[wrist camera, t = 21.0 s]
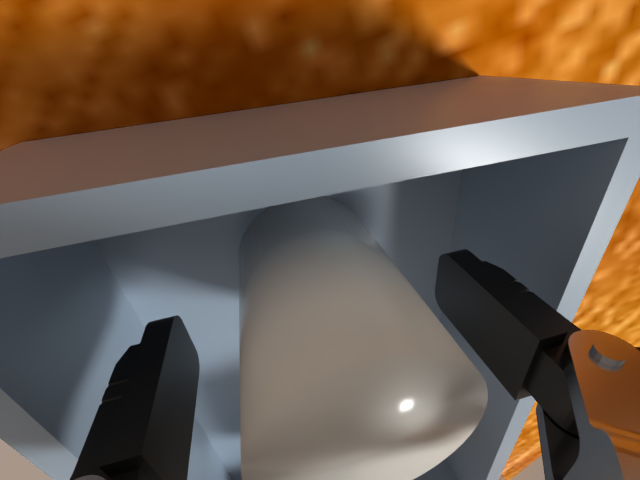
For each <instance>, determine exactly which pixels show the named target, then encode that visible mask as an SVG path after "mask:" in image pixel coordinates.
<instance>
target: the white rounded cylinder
mask: <svg viewBox="0 0 640 480" xmlns="http://www.w3.org/2000/svg"><path fill="white" fill-rule="evenodd" d="M238 265H239V355H240V446H241V477H242V480H413V479H415V478H417V477H419V476H421V475H422V474H424V473H426V472H427V471H429V470H430V469H432V468H433V467H435V466H436V465H438V464H439V463H440V462H442V461H443V460H445V459H446V458H447V457H448V456H449V455H451V454H452V453H453V452H454V451H455V450H456V449H457V448H458V447H460V446H461V445H462V444H463V443H464V442H465V440H466V439H467V438H468V437H469V436H470V435H471V434H472V432H473V431H474V429H475V428H476V427H477V425H478V424H479V422H480V420H481V418H482V416H483V414H484V411H485V409H486V405H487V401H488V389H487V385H486V382H485V380H484V378H483V377H482V375H481V374H480V372H479V371H478V370H477V368H476V367H475V366H474V365H473V363H472V362H471V361H470V360H469V358H468V357H467V356H466V354H465V353H464V352H463V351H462V349H461V348H460V347H459V345H458V344H457V343H456V342H455V340H454V339H453V338H452V336H451V335H450V334H449V333H448V331H447V330H446V329H445V328H444V326H443V325H442V324H441V322H440V321H439V320H438V319H437V317H436V316H435V315H434V313H433V312H432V311H431V310H430V308H429V307H428V306H427V305H426V303H425V302H424V301H423V299H422V298H421V297H420V296H419V294H418V293H417V292H416V290H415V289H414V288H413V287H412V285H411V284H410V283H409V281H408V280H407V279H406V278H405V276H404V275H403V274H402V273H401V271H400V270H399V269H398V267H397V266H396V265H395V264H394V262H393V261H392V260H391V258H390V257H389V256H388V255H387V253H386V252H385V251H384V250H383V248H382V247H381V246H380V244H379V243H378V242H377V241H376V239H375V238H374V237H373V235H372V234H371V233H370V232H369V230H368V229H367V228H366V227H365V225H364V224H363V223H362V221H361V220H360V219H359V218H358V216H357V215H356V214H355V213H354V212H353V211H352V210H351V209H350V208H349V207H348V206H347V205H345V204H343V203H342V202H340V201H338V200H336V199H333V198H331V197H327V196H321V197H316V198H311V199H306V200H300V201H295V202H290V203H285V204H280V205H274V206H269V207H267V208H266V209H264V210H263V211H261V212H260V213H259V214H258V215H257V216H256V217H255V218H254V219H253V220H252V222H251V223H250V224H249V225H248V227H247V229H246V230H245V232H244V234H243V237H242V239H241V242H240V246H239V254H238Z"/></svg>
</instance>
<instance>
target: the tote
mask: <svg viewBox="0 0 640 480" xmlns="http://www.w3.org/2000/svg"><path fill="white" fill-rule="evenodd" d="M639 177H640V86H631V85H616V84H601V83H586V82H571V81H556V80H541V79H526V78H511V77H496V76H474V77H467V78H460V79H453V80H446V81H439V82H433V83H426V84H419V85H412V86H405V87H398V88H391V89H384V90H377V91H370V92H364V93H357V94H350V95H343V96H336V97H329V98H322V99H315V100H308V101H302V102H295V103H288V104H281V105H274V106H267V107H260V108H253V109H246V110H240V111H233V112H226V113H219V114H212V115H205V116H198V117H191V118H184V119H178V120H171V121H164V122H157V123H150V124H143V125H136V126H129V127H122V128H115V129H109V130H102V131H95V132H88V133H81V134H74V135H67V136H60V137H53V138H47V139H40V140H33V141H26V142H21V143H19V144H16V145H13V146H11V147H8V148H6V149H3V150H0V438H1V439H2V440H3V441H5V442H6V443H7V444H8V445H10V446H11V447H12V448H13V449H15V450H16V451H17V452H19V453H20V454H21V455H22V456H24V457H25V458H26V459H27V460H29V461H30V462H31V463H33V464H34V465H35V466H37V467H38V468H39V469H40V470H42V471H43V472H44V473H45V474H47V475H48V476H49V477H51V478H52V479H53V480H70V478H71V476H72V474H73V471H74V469H75V466H76V464H77V461H78V459H79V456H80V453H81V451H82V448H83V446H84V443H85V441H86V438H87V436H88V433H89V431H90V428H91V425H92V423H93V420H94V418H95V415H96V413H97V410H98V408H99V405H100V404H102V398H103V395H104V392H105V390H106V388H107V387H108V382H109V380H110V377H111V375H112V372H113V370H114V367H115V364H116V363H117V362H118V361H119V359H120V358H121V357H122V356H123V354H124V353H125V352H126V351H127V349H128V348H129V347H130V346H132V345H136V344H140V342H141V339H142V336H143V333H144V330H145V327H146V325H147V323H148V322H151V321H155V320H159V319H163V318H168V317H172V316H176V315H178V316H180V318H181V319H182V321H183V323H184V325H185V327H186V329H187V331H188V333H189V336H190V338H191V340H192V342H193V344H194V346H195V348H196V350H197V353H198V357H199V365H200V371H199V381H198V389H197V398H196V407H195V415H194V424H193V432H192V441H191V450H190V458H189V467H188V476H187V480H242V477H241V446H240V355H239V265H238V254H239V246H240V242H241V239H242V237H243V234H244V232H245V230H246V229H247V227H248V225H249V224H250V223H251V222H252V220H253V219H254V218H255V217H256V216H257V215H258V214H259V213H260V212H261V211H263V210H264V209H266V208H267V207H269V206H274V205H280V204H285V203H290V202H295V201H300V200H306V199H311V198H316V197H321V196H327V197H331V198H333V199H336V200H338V201H340V202H342V203H343V204H345V205H347V206H348V207H349V208H350V209H351V210H352V211H353V212H354V213H355V214H356V215H357V216H358V218H359V219H360V220H361V221H362V223H363V224H364V225H365V227H366V228H367V229H368V230H369V232H370V233H371V234H372V235H373V237H374V238H375V239H376V241H377V242H378V243H379V244H380V246H381V247H382V248H383V250H384V251H385V252H386V253H387V255H388V256H389V257H390V258H391V260H392V261H393V262H394V264H395V265H396V266H397V267H398V269H399V270H400V271H401V273H402V274H403V275H404V276H405V278H406V279H407V280H408V281H409V283H410V284H411V285H412V287H413V288H414V289H415V290H416V292H417V293H418V294H419V296H420V297H421V298H422V299H423V301H424V302H425V303H426V305H427V306H428V307H429V308H430V310H431V311H432V312H433V313H434V315H435V316H436V317H437V319H438V320H439V321H440V322H441V324H442V325H443V326H444V328H445V329H446V330H447V331H448V333H449V334H450V335H451V336H452V338H453V339H454V340H455V342H456V343H457V344H458V345H459V347H460V348H461V349H462V351H463V352H464V353H465V354H466V356H467V357H468V358H469V360H470V361H471V362H472V363H473V365H474V366H475V367H476V368H477V370H478V371H479V372H480V374H481V375H482V377H483V378H484V380H485V382H486V385H487V389H488V401H487V405H486V409H485V411H484V414H483V416H482V418H481V420H480V422H479V424H478V425H477V427H476V428H475V429H474V431H473V432H472V434H471V435H470V436H469V437H468V438H467V439H466V440H465V442H464V443H463V444H462V445H461V446H460V447H458V448H457V449H456V450H455V451H454V452H453V453H452V454H451V455H449V456H448V457H447V458H446V459H445V460H443V461H442V462H440V463H439V464H438V465H436V466H435V467H433V468H432V469H430V470H429V471H427V472H426V473H424V474H422V475H421V476H419V477H417V478H415V479H413V480H499V478H500V475H501V473H502V471H503V469H504V467H505V465H506V463H507V460H508V458H509V456H510V454H511V452H512V450H513V448H514V445H515V443H516V441H517V439H518V437H519V435H520V432H521V430H522V428H523V426H524V424H525V422H526V420H527V417H528V415H529V413H530V411H531V409H532V407H533V404H534V402H535V399H534V398H533V397H532V396H529V397H525V398H522V399H519V400H516V401H515V400H514V399H513V397H512V396H511V395H510V394H509V392H508V391H507V390H506V389H505V388H504V386H503V385H502V384H501V383H500V381H499V380H498V379H497V378H496V377H495V375H494V374H493V373H492V372H491V370H490V369H489V368H488V367H487V366H486V364H485V363H484V362H483V361H482V359H481V358H480V357H479V356H478V355H477V353H476V352H475V351H474V350H473V348H472V347H471V346H470V345H469V344H468V342H467V341H466V340H465V339H464V337H463V336H462V335H461V334H460V333H459V331H458V330H457V329H456V328H455V326H454V325H453V324H452V323H451V322H450V320H449V319H448V318H447V317H446V315H445V314H444V313H443V312H442V311H441V309H440V308H439V306H438V304H437V301H436V297H435V285H436V277H437V269H438V261H439V257H440V256H441V255H442V254H445V253H450V252H454V251H458V250H463V249H466V250H469V251H470V252H471V253H473V254H474V255H475V256H476V257H477V258H479V259H480V260H481V261H482V262H483V261H487V262H489V263H491V264H493V265H496V266H498V267H500V268H502V269H504V270H505V271H506V272H508V273H509V274H510V275H512V276H513V277H514V278H515V279H517V282H520V283H522V284H523V285H524V286H526V287H527V288H528V289H529V291H530V292H533V293H535V294H536V295H537V296H538V297H540V298H541V299H542V300H543V301H545V302H546V303H547V304H549V305H550V306H551V307H552V308H554V309H555V310H556V311H557V312H559V313H560V314H561V315H563V316H564V317H565V318H566V319H568V320H569V321H570V322H571V323H572V321H573V318H574V316H575V314H576V312H577V310H578V308H579V306H580V303H581V301H582V299H583V297H584V295H585V293H586V290H587V288H588V286H589V284H590V282H591V280H592V278H593V275H594V273H595V271H596V269H597V267H598V265H599V263H600V260H601V258H602V256H603V254H604V252H605V250H606V247H607V245H608V243H609V241H610V239H611V237H612V235H613V232H614V230H615V228H616V226H617V224H618V222H619V220H620V217H621V215H622V213H623V211H624V209H625V207H626V204H627V202H628V200H629V198H630V196H631V194H632V192H633V189H634V187H635V185H636V183H637V181H638V179H639Z"/></svg>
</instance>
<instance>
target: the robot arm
mask: <svg viewBox="0 0 640 480" xmlns="http://www.w3.org/2000/svg"><path fill="white" fill-rule="evenodd" d="M435 297H436V301H437V304H438V306H439V308H440V309H441V311H442V312H443V313H444V314H445V315H446V317H447V318H448V319H449V320H450V322H451V323H452V324H453V325H454V326H455V328H456V329H457V330H458V331H459V333H460V334H461V335H462V336H463V337H464V339H465V340H466V341H467V342H468V344H469V345H470V346H471V347H472V348H473V350H474V351H475V352H476V353H477V355H478V356H479V357H480V358H481V359H482V361H483V362H484V363H485V364H486V366H487V367H488V368H489V369H490V370H491V372H492V373H493V374H494V375H495V377H496V378H497V379H498V380H499V381H500V383H501V384H502V385H503V386H504V388H505V389H506V390H507V391H508V392H509V394H510V395H511V396H512V397H513V399H514V400H515V401H516V400H519V399H522V398H525V397H529V396H532V397H533V398H534V399H535V400H536V401H537V402H538V404H537V407H536V415H537V422H538V430H539V437H540V444H541V452H542V459H543V466H544V474H545V480H640V347H634V346H632V345H631V344H629V343H628V342H626V341H624V340H622V339H620V338H618V337H616V336H614V335H611V334H608V333H605V332H601V331H595V330H581V329H579V328H578V327H577V326H575V325H574V324H573V323H571V322H570V321H569V320H568V319H566V318H565V317H564V316H563V315H561V314H560V313H559V312H557V311H556V310H555V309H554V308H552V307H551V306H550V305H549V304H547V303H546V302H545V301H543V300H542V299H541V298H540V297H538V296H537V295H536V294H535V293H533V292H530V291H529V289H528V288H527V287H526V286H524V285H523V284H522V283H520V282H517V279H515V278H514V277H513V276H512V275H510V274H509V273H508V272H506V271H505V270H504V269H502V268H500V267H498V266H496V265H493V264H491V263H489V262H487V261H483V262H482V261H481V260H480V259H479V258H477V257H476V256H475V255H474V254H473V253H471V252H470V251H469V250H466V249H463V250H458V251H454V252H450V253H445V254H442V255H441V256H440V257H439V261H438V269H437V277H436V285H435ZM199 371H200V365H199V357H198V353H197V350H196V348H195V346H194V344H193V342H192V340H191V338H190V336H189V333H188V331H187V329H186V327H185V325H184V323H183V321H182V319H181V318H180V316H178V315H176V316H172V317H168V318H163V319H159V320H155V321H151V322H148V323H147V325H146V327H145V330H144V333H143V336H142V339H141V342H140V344H136V345H132V346H130V347H129V348H128V349H127V351H126V352H125V353H124V354H123V356H122V357H121V358H120V359H119V361H118V362H117V363H116V364H115V367H114V370H113V372H112V375H111V377H110V380H109V382H108V387H107V388H106V390H105V392H104V395H103V398H102V404H100V405H99V408H98V410H97V413H96V415H95V418H94V420H93V423H92V425H91V428H90V431H89V433H88V436H87V438H86V441H85V443H84V446H83V448H82V451H81V453H80V456H79V459H78V461H77V464H76V466H75V469H74V471H73V474H72V476H71V478H70V480H187V476H188V467H189V458H190V450H191V441H192V432H193V424H194V415H195V407H196V398H197V389H198V381H199Z"/></svg>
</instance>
